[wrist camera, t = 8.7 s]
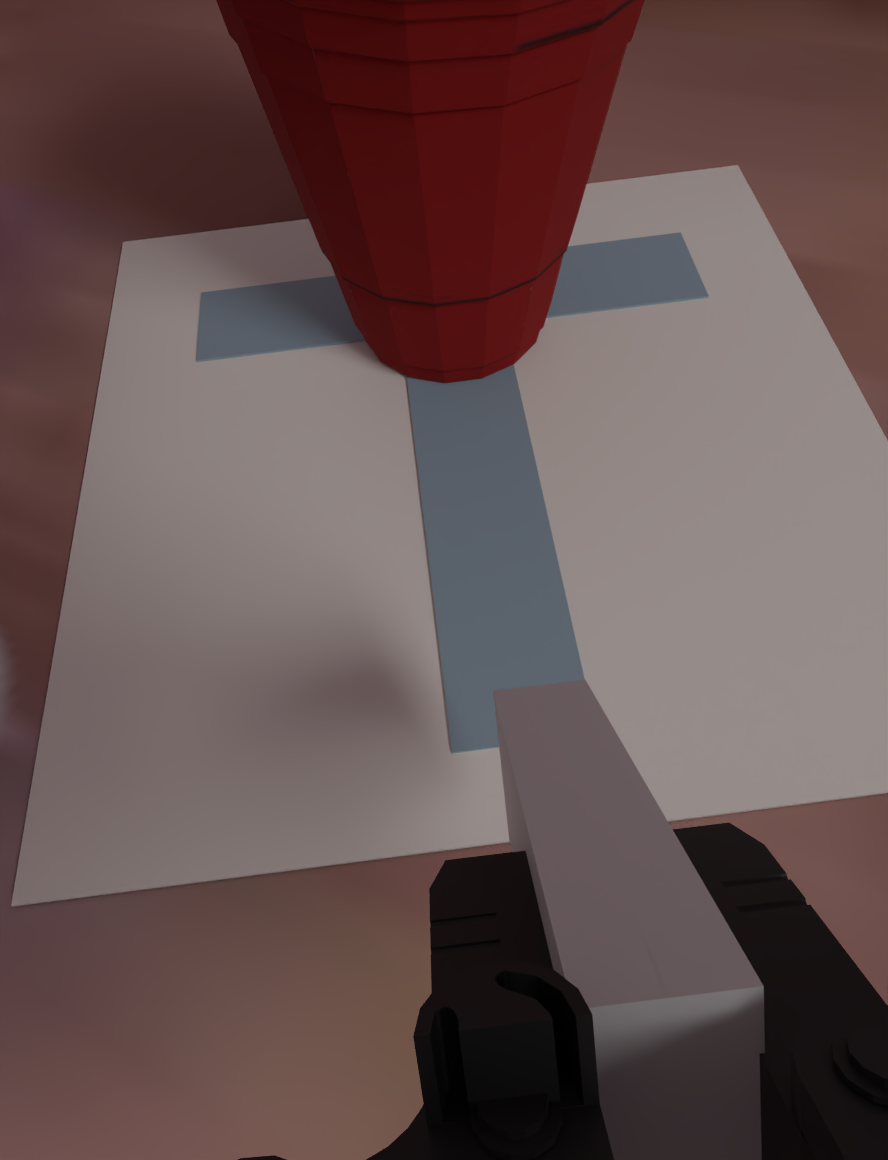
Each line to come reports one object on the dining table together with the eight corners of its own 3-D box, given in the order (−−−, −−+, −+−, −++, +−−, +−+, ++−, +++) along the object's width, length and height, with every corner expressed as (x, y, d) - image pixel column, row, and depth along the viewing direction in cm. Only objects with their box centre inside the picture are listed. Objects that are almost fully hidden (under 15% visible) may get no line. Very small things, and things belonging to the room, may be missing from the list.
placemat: (736, 167, 27) (738, 163, 27) (1062, 770, 16) (1068, 767, 16) (124, 244, 27) (122, 239, 27) (13, 906, 16) (8, 905, 16)
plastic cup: (550, 507, 20) (606, -54, 10) (217, 385, 23) (-9, -141, 13) (684, 259, 25) (817, -296, 14) (393, 185, 28) (331, -317, 17)
